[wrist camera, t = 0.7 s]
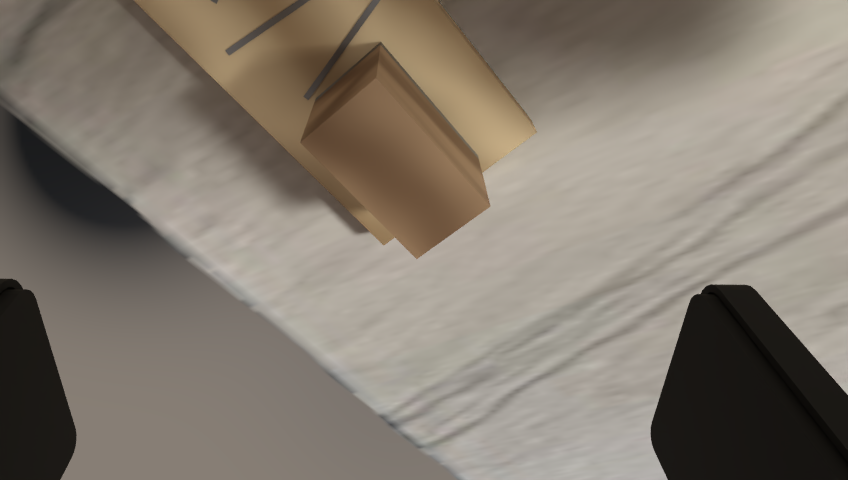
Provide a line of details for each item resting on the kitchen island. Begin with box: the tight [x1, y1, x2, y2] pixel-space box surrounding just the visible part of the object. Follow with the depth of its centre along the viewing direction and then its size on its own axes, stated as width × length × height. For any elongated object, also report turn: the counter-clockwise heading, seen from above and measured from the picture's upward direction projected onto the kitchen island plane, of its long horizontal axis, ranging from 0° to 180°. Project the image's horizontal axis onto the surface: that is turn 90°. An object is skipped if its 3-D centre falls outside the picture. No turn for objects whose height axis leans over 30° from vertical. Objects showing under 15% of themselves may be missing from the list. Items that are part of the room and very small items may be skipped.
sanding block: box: [300, 42, 490, 259], centre depth 32 cm, size 4×8×6 cm, turn 39°
